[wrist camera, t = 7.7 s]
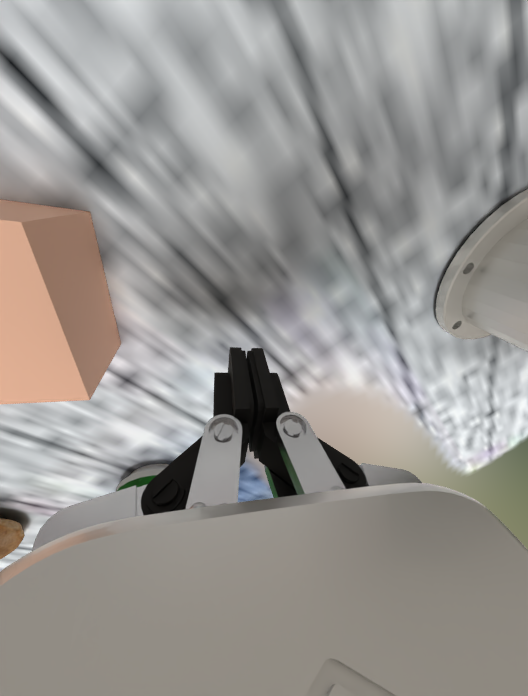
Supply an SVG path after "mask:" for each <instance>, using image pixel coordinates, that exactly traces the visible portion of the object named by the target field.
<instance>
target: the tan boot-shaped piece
mask: <svg viewBox="0 0 528 696" xmlns="http://www.w3.org/2000/svg"><path fill="white" fill-rule="evenodd" d="M24 536H25V535H24V531H23V529H22V525H21V524H20V523H18V522H16V521H13V520H9V519H1V518H0V559H2V558H3V557H5V556H6V555H8V554H9V553H11V552H12V551H14V550H15V549H16V548H17V547H18V546H19V544H20V543H21V541H22V540H23V538H24Z"/></svg>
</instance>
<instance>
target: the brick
mask: <svg viewBox="0 0 528 696" xmlns="http://www.w3.org/2000/svg"><path fill="white" fill-rule="evenodd" d="M120 345H121V341H120V337H119V333H118V329H117V324H116V320H115V316H114V312H113V307H112V303H111V299H110V294H109V290H108V286H107V282H106V277H105V273H104V269H103V265H102V260H101V256H100V252H99V248H98V243H97V239H96V235H95V230H94V226H93V222H92V218H91V213H90V212H89V211H82V210H74V209H67V208H60V207H53V206H45V205H38V204H31V203H24V202H16V201H9V200H2V199H0V404H16V403H37V402H57V401H78V400H90V398H91V397H92V395H93V393H94V391H95V390H96V388H97V386H98V384H99V382H100V381H101V379H102V377H103V375H104V374H105V372H106V370H107V368H108V366H109V365H110V363H111V361H112V359H113V357H114V356H115V354H116V352H117V350H118V349H119V347H120Z"/></svg>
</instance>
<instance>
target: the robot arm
mask: <svg viewBox="0 0 528 696" xmlns="http://www.w3.org/2000/svg"><path fill="white" fill-rule="evenodd" d="M435 309H436V318H437V320H438V323H439V325H440V326H441V327H442V328H443V329H444V330H445V331H446V332H448V333H450V334H451V335H453V336H455V337H457V338H461V339H477V338H482V337H486V336H489V335H494V336H496V337H498V338H500V339H502V340H504V341H506V342H508V343H511V344H513V345H515V346H517V347H519V348H521V349H523V350H525V351H527V352H528V189H527V190H525V191H523V192H521V193H519V194H518V195H516V196H515V197H513V198H512V199H511V200H509V201H508V202H506V203H505V204H503V205H502V206H501V207H499V208H498V209H497V210H496V211H495V212H494V213H493V214H491V215H490V216H489V217H488V218H487V219H486V220H485V221H484V222H483V223H482V224H481V225H480V226H479V227H478V228H477V229H476V230H475V231H474V232H473V233H472V234H471V235H470V237H469V238H468V239H467V240H466V242H465V243H464V244H463V246H462V247H461V248H460V250H459V251H458V252H457V254H456V255H455V257H454V259H453V260H452V262H451V264H450V265H449V267H448V269H447V271H446V273H445V275H444V277H443V280H442V282H441V284H440V288H439V291H438V294H437V300H436V308H435ZM248 443H249V450H250V452H252V451H254V458H255V459H256V458H259V461H260V462H261V463H262V464H264V465H265V466H264V467H265V472H266V475H267V478H268V481H269V485H270V488H271V491H272V494H273V497H274V498H270V499H262V500H254V501H246V502H239V503H237V500H238V485H239V471H240V467H241V466H242V465H243V463H244V462H245V457H246V452H247V448H248ZM0 696H528V550H527V549H526V547H524V545H523V544H522V543H521V542H520V541H519V540H518V539H517V537H516V536H514V534H513V533H512V532H511V531H510V530H509V529H508V528H507V527H506V526H505V525H504V524H503V523H502V522H501V521H500V520H499V519H498V518H497V517H496V516H495V515H494V514H493V513H492V512H491V511H490V510H488V509H487V508H486V507H485V506H484V505H483V504H481V503H480V502H478V501H477V500H475V499H473V498H471V497H469V496H467V495H465V494H463V493H460V492H458V491H455V490H452V489H449V488H446V487H442V486H438V485H433V484H427V483H422V482H421V481H420V480H419V479H418V478H417V477H416V476H415V475H414V474H412V473H410V472H409V471H406V470H403V469H397V468H390V467H384V466H377V465H371V464H365V463H362V464H361V465H358V464H356V463H355V462H354V461H353V460H351V459H350V458H348V457H347V456H345V455H344V454H342V453H340V452H339V451H337V450H336V449H334V448H333V447H331V446H330V445H328V444H327V443H325V442H323V441H322V440H320V439H319V438H317V437H316V435H315V433H314V431H313V430H312V428H311V426H310V424H309V423H308V421H307V420H306V419H305V418H304V417H303V416H302V415H300V414H298V413H294V412H290V410H289V407H288V404H287V401H286V398H285V394H284V391H283V388H282V385H281V382H280V379H279V376H278V374H277V373H270V372H269V369H268V365H267V362H266V358H265V355H264V351H263V349H262V348H252V349H251V351H248V352H247V359H246V354H245V351H241V348H231V347H230V354H229V367H228V373H215V377H214V417H213V418H211V419H210V420H209V421H208V422H207V424H206V426H205V428H204V433H203V436H202V437H201V438H200V439H198V440H197V441H196V442H195V443H194V444H193V445H191V446H190V447H189V448H188V449H187V450H186V451H184V452H183V453H182V454H181V455H180V456H179V457H178V458H176V459H175V460H174V461H173V462H172V463H171V464H169V465H168V466H167V467H166V468H165V469H164V470H162V471H161V472H160V473H159V474H158V475H157V476H155V477H154V478H153V479H152V480H151V481H150V482H149V483H148V484H147V485H144V486H141V487H137V488H136V485H135V486H132V487H129V488H126V489H122V490H119V491H116V492H113V493H110V494H107V495H104V496H100V497H97V498H94V499H91V500H88V501H85V502H81V503H78V504H75V505H72V506H69V507H67V508H65V509H62V510H60V511H58V512H57V513H56V514H54V515H53V516H52V517H51V518H49V519H48V520H47V522H46V523H45V524H44V525H43V526H42V527H41V529H40V531H39V533H38V535H37V537H36V539H35V542H34V545H33V549H32V552H30V553H28V554H26V555H25V556H23V557H22V558H20V559H18V560H17V561H15V562H14V563H12V564H10V565H9V566H7V567H6V568H5V569H3V570H2V571H1V572H0Z"/></svg>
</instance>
